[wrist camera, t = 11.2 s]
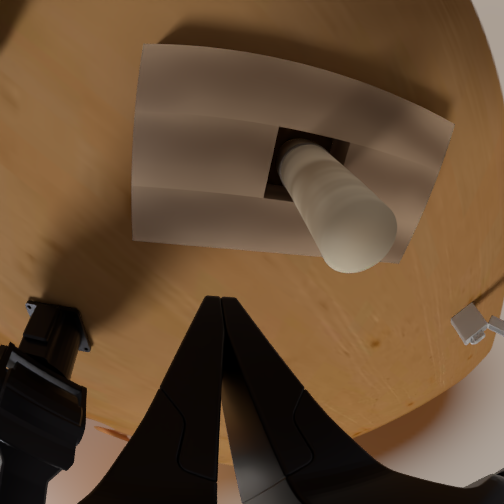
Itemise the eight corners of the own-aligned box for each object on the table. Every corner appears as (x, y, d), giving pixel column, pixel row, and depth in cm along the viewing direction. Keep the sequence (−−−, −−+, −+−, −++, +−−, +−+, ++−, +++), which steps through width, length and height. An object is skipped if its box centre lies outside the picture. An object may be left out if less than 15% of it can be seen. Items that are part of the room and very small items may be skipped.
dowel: (313, 183, 20) (378, 275, 12) (266, 176, 19) (308, 271, 11) (325, 139, 18) (410, 207, 10) (277, 129, 17) (335, 192, 9)
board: (385, 246, 24) (398, 263, 22) (140, 221, 20) (132, 240, 18) (434, 116, 17) (454, 124, 15) (153, 47, 13) (143, 43, 11)
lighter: (451, 323, 34) (477, 365, 27) (450, 318, 33) (477, 362, 26) (486, 295, 32) (515, 334, 25) (486, 289, 31) (516, 329, 24)
